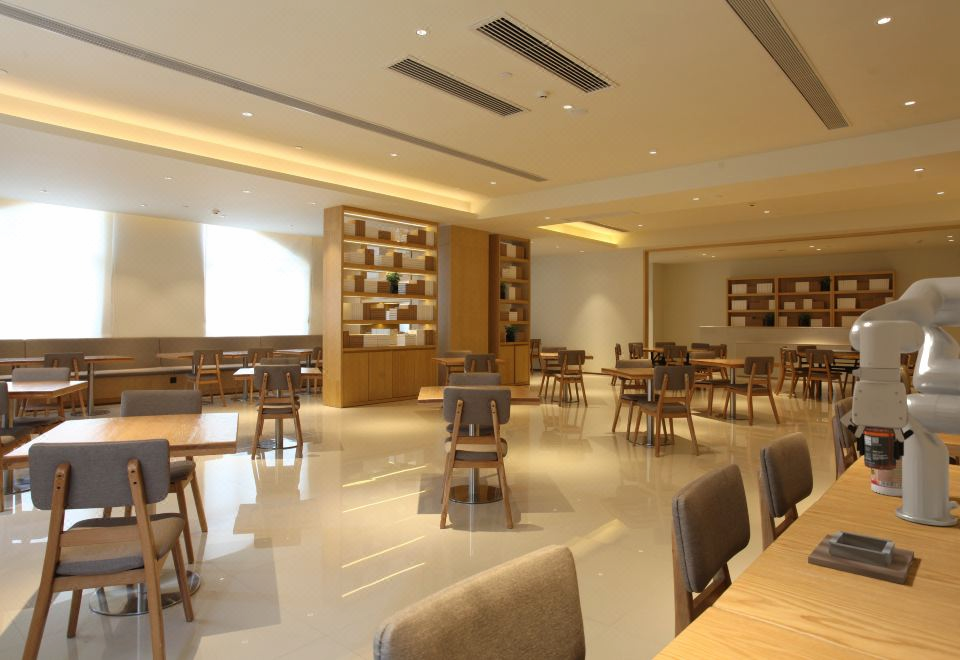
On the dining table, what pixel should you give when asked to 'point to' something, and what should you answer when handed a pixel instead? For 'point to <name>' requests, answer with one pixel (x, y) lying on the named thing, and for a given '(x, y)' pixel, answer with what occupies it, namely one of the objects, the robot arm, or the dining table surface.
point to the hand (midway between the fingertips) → (879, 456)
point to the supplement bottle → (879, 448)
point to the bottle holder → (863, 556)
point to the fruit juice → (888, 480)
